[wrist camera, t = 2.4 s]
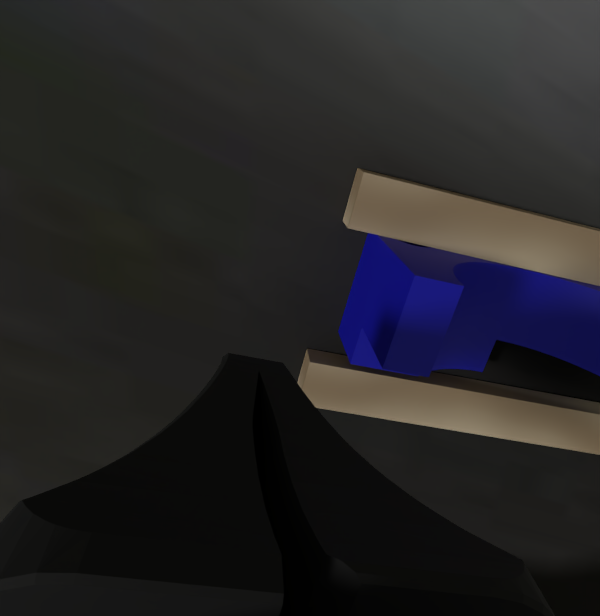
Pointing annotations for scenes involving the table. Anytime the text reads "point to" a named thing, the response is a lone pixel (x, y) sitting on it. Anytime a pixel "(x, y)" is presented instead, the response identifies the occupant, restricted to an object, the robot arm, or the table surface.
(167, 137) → the table surface
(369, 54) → the table surface
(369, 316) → the blue stepped block
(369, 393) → the channel
